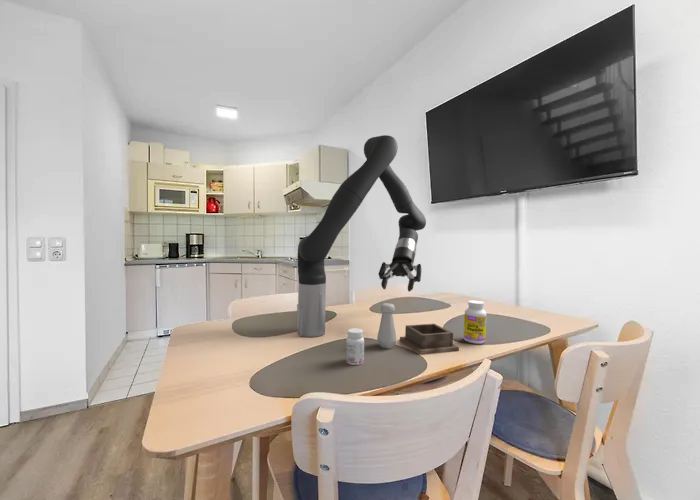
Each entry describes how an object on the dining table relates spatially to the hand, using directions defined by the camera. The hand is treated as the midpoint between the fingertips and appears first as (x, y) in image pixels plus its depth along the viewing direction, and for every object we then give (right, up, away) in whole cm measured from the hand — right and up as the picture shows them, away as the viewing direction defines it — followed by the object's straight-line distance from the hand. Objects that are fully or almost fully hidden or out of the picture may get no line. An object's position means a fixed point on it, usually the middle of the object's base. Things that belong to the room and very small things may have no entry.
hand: (396, 289), depth 105 cm
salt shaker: (-4, -17, -9) cm, 19 cm away
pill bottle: (-14, -17, -21) cm, 31 cm away
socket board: (+9, -17, -7) cm, 20 cm away
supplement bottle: (+25, -17, -2) cm, 30 cm away
